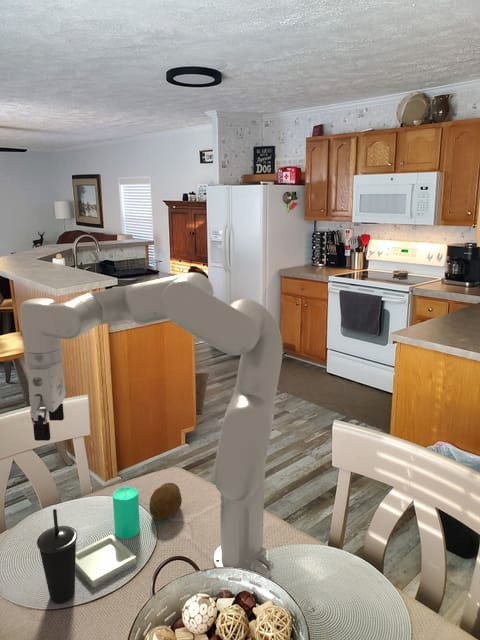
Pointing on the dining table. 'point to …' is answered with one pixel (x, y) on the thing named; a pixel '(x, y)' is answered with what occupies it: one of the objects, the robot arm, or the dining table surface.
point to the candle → (126, 512)
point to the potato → (165, 501)
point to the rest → (103, 560)
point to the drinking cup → (59, 560)
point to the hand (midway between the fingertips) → (50, 429)
